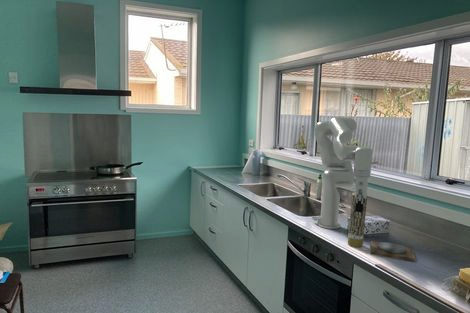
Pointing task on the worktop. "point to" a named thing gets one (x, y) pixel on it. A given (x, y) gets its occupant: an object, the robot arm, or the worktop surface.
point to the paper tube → (356, 223)
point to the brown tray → (392, 251)
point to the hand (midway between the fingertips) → (358, 209)
